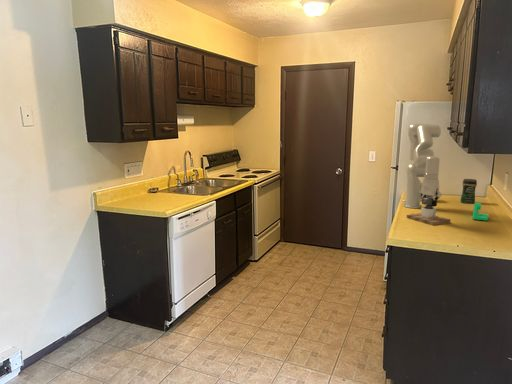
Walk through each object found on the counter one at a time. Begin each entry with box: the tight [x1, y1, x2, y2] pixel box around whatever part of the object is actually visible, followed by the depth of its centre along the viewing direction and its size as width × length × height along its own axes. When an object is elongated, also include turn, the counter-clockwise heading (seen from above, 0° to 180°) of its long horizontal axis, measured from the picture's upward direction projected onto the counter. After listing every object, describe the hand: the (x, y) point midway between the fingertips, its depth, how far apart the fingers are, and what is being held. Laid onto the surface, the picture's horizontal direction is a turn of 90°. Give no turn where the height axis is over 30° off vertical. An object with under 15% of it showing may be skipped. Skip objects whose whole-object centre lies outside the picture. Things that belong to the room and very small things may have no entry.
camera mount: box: [472, 202, 489, 221], centre depth 232 cm, size 12×8×10 cm, turn 143°
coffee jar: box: [460, 178, 478, 205], centre depth 281 cm, size 10×8×19 cm
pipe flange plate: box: [406, 205, 452, 226], centre depth 229 cm, size 20×15×8 cm
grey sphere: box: [422, 197, 433, 209], centre depth 228 cm, size 7×7×7 cm
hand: (429, 204), depth 228 cm, fingers closed on grey sphere, 7 cm apart
